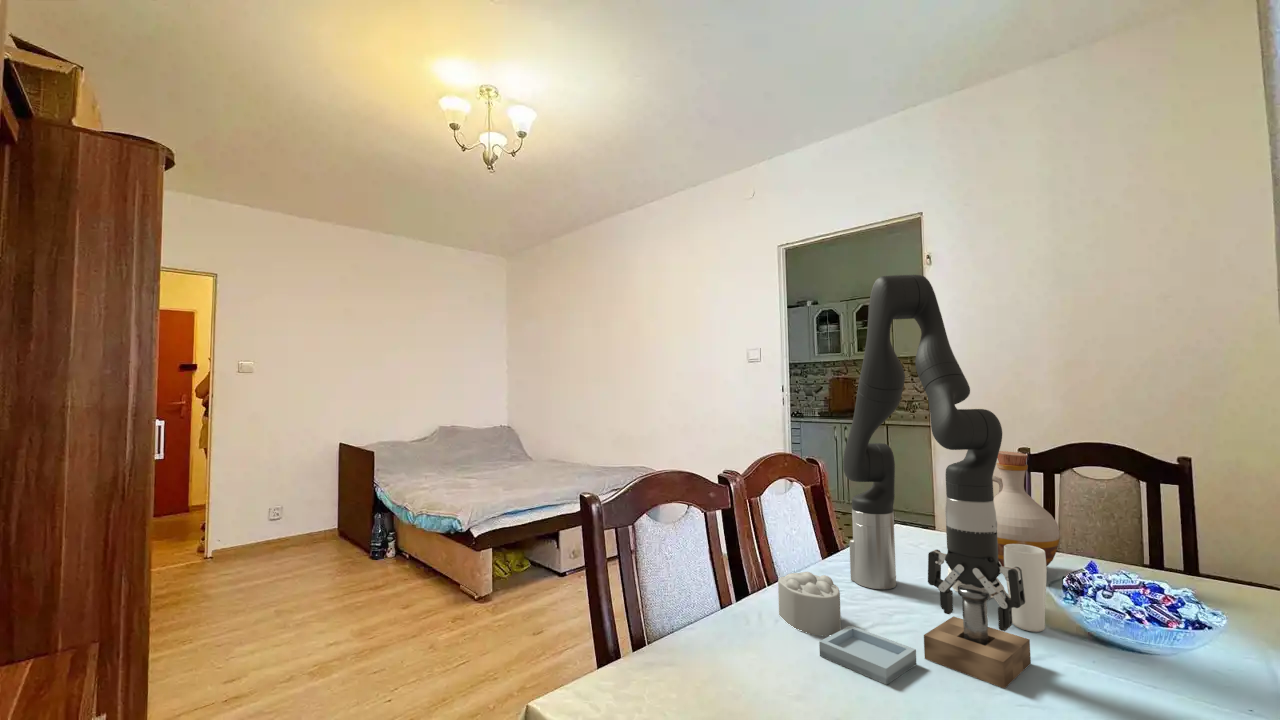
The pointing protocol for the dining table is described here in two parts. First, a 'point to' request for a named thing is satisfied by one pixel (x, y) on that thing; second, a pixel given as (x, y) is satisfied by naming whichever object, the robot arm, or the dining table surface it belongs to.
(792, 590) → the lumpy-topped squat cylinder
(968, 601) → the pin
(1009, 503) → the jug
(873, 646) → the tray
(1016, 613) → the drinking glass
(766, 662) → the dining table surface
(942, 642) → the socket block
